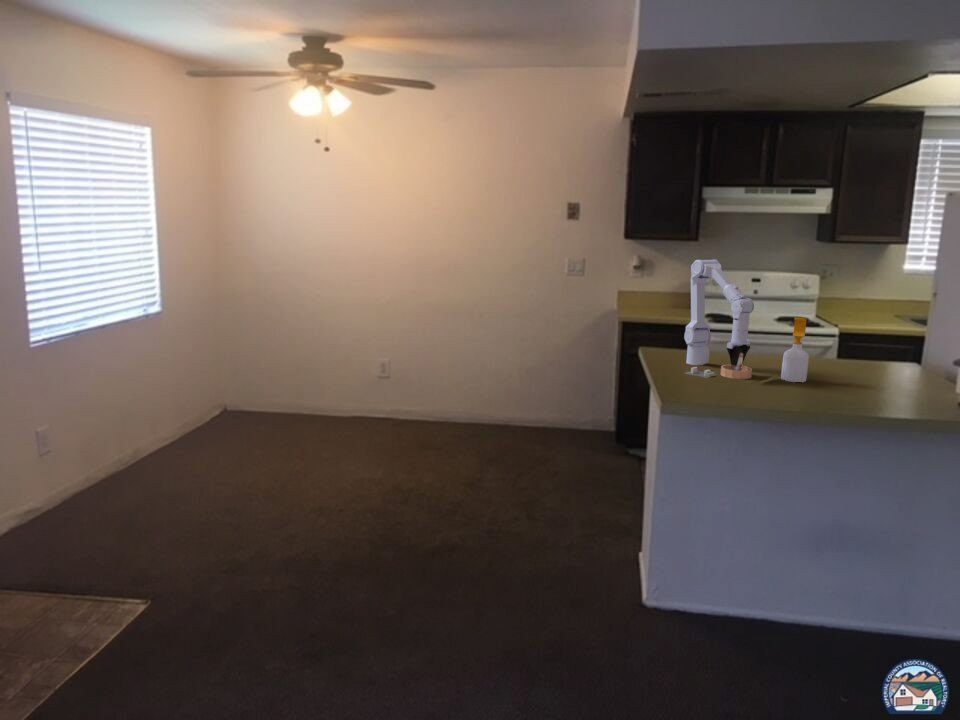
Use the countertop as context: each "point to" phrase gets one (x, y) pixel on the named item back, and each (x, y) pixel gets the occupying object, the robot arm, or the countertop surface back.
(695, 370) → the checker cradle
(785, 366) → the soap bottle
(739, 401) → the countertop surface
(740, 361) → the battery cell
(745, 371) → the cup
